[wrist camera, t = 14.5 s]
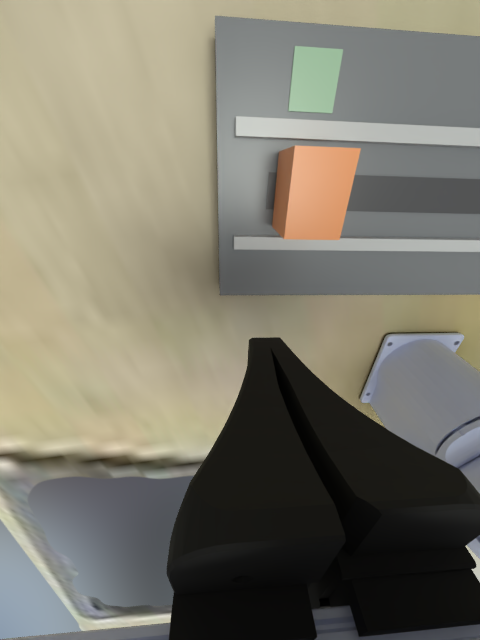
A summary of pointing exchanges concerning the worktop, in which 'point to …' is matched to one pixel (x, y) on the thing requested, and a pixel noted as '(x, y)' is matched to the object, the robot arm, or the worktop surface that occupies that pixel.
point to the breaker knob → (313, 191)
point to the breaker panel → (373, 164)
